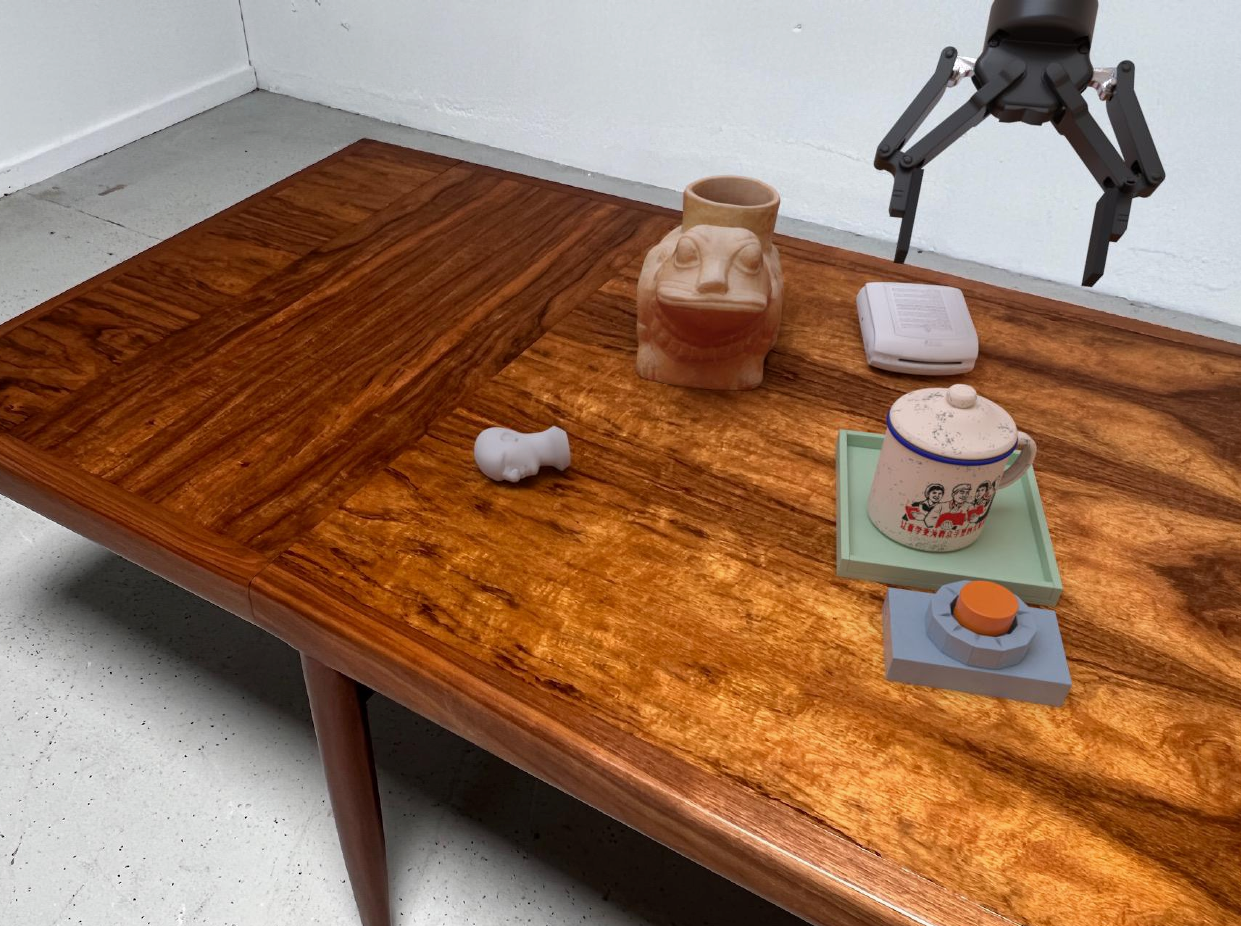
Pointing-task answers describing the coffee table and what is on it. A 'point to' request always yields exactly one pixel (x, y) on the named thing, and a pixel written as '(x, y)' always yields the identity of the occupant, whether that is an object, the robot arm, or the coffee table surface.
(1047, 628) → the control block
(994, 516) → the tray
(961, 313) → the photo printer
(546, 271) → the coffee table surface
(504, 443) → the smooth white sculpture
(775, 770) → the coffee table surface
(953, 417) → the teacup with lid
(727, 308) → the ceramic vessel
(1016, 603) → the button
